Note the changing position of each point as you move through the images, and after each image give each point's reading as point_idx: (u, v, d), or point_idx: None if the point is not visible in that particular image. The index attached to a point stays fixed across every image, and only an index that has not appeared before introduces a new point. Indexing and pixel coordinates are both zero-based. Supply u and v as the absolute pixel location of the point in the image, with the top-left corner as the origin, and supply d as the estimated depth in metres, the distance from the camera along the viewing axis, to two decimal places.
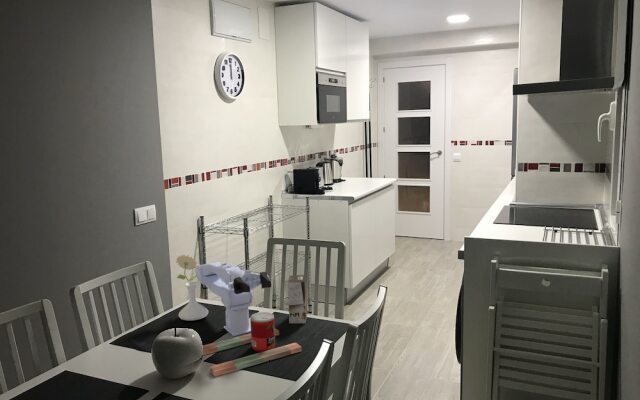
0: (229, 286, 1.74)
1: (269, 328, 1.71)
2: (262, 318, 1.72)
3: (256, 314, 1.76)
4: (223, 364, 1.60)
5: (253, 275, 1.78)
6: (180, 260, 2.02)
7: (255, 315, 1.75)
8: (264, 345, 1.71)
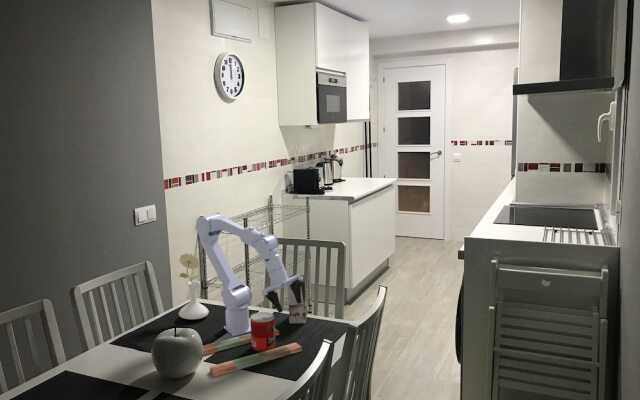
0: (263, 293, 1.74)
1: (269, 328, 1.71)
2: (262, 318, 1.72)
3: (256, 314, 1.76)
4: (223, 364, 1.60)
5: (288, 281, 1.76)
6: (183, 258, 2.03)
7: (255, 315, 1.75)
8: (264, 345, 1.71)
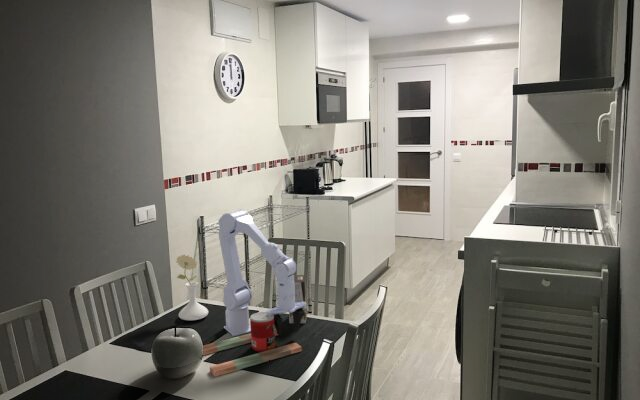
0: (268, 314, 1.75)
1: (268, 328, 1.71)
2: (262, 318, 1.72)
3: (256, 314, 1.76)
4: (223, 364, 1.60)
5: None
6: (180, 260, 2.02)
7: (255, 315, 1.75)
8: (264, 345, 1.71)
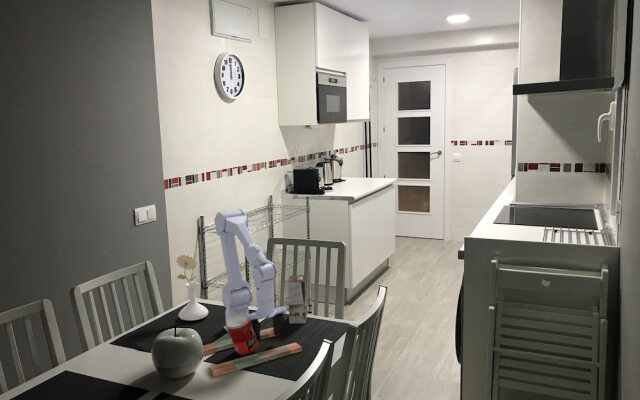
0: None
1: (246, 332, 1.67)
2: (237, 323, 1.68)
3: (232, 318, 1.71)
4: (223, 364, 1.60)
5: None
6: (180, 260, 2.02)
7: (231, 320, 1.71)
8: (245, 348, 1.68)
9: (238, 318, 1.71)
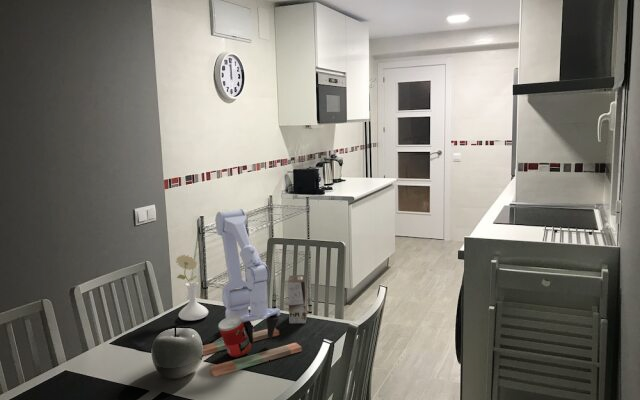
0: None
1: (238, 334, 1.65)
2: (230, 325, 1.66)
3: (225, 320, 1.70)
4: (223, 364, 1.60)
5: None
6: (180, 260, 2.02)
7: (223, 321, 1.69)
8: (237, 350, 1.67)
9: (230, 320, 1.69)
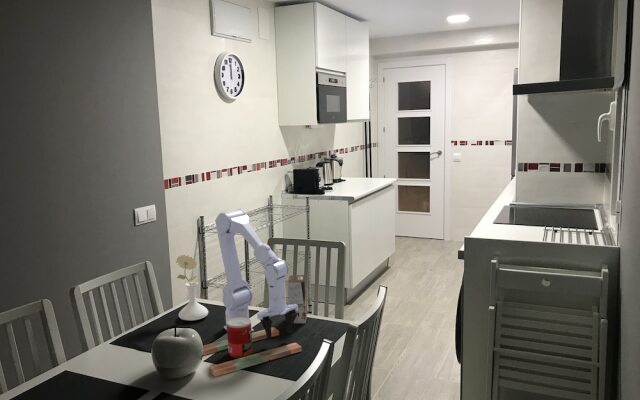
0: (258, 316, 1.73)
1: (244, 334, 1.67)
2: (238, 323, 1.68)
3: (233, 319, 1.72)
4: (223, 364, 1.60)
5: None
6: (180, 260, 2.02)
7: (232, 320, 1.71)
8: (239, 351, 1.67)
9: (239, 320, 1.71)
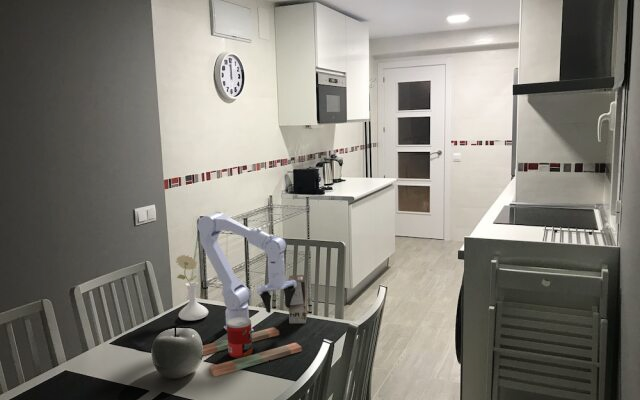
0: (258, 291, 1.79)
1: (244, 334, 1.67)
2: (238, 323, 1.68)
3: (233, 319, 1.72)
4: (223, 364, 1.60)
5: None
6: (180, 260, 2.02)
7: (232, 320, 1.71)
8: (239, 351, 1.67)
9: (239, 320, 1.71)
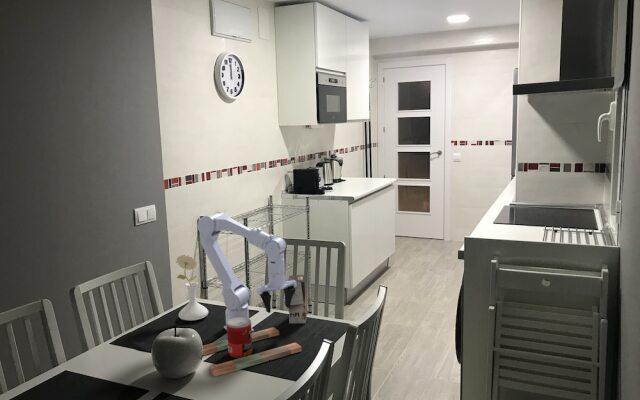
0: (258, 291, 1.79)
1: (244, 334, 1.67)
2: (238, 323, 1.68)
3: (233, 319, 1.72)
4: (223, 364, 1.60)
5: None
6: (180, 260, 2.02)
7: (232, 320, 1.71)
8: (239, 351, 1.67)
9: (239, 320, 1.71)
